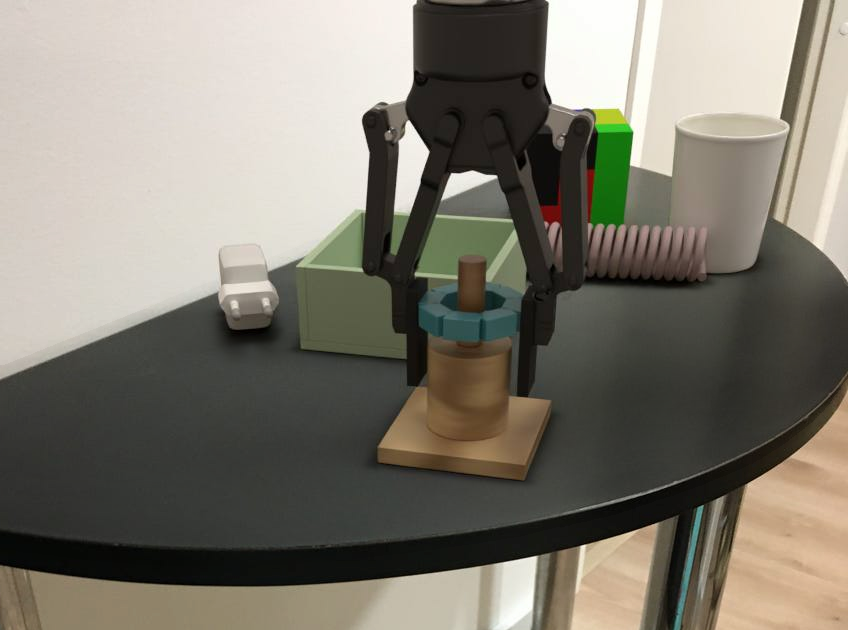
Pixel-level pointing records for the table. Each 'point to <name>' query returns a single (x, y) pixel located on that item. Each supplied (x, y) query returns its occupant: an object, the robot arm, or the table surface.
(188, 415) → the table surface
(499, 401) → the stand
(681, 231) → the coil
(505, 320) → the ring
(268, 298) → the power adapter
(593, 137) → the puzzle toy
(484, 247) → the bin
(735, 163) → the white cup
